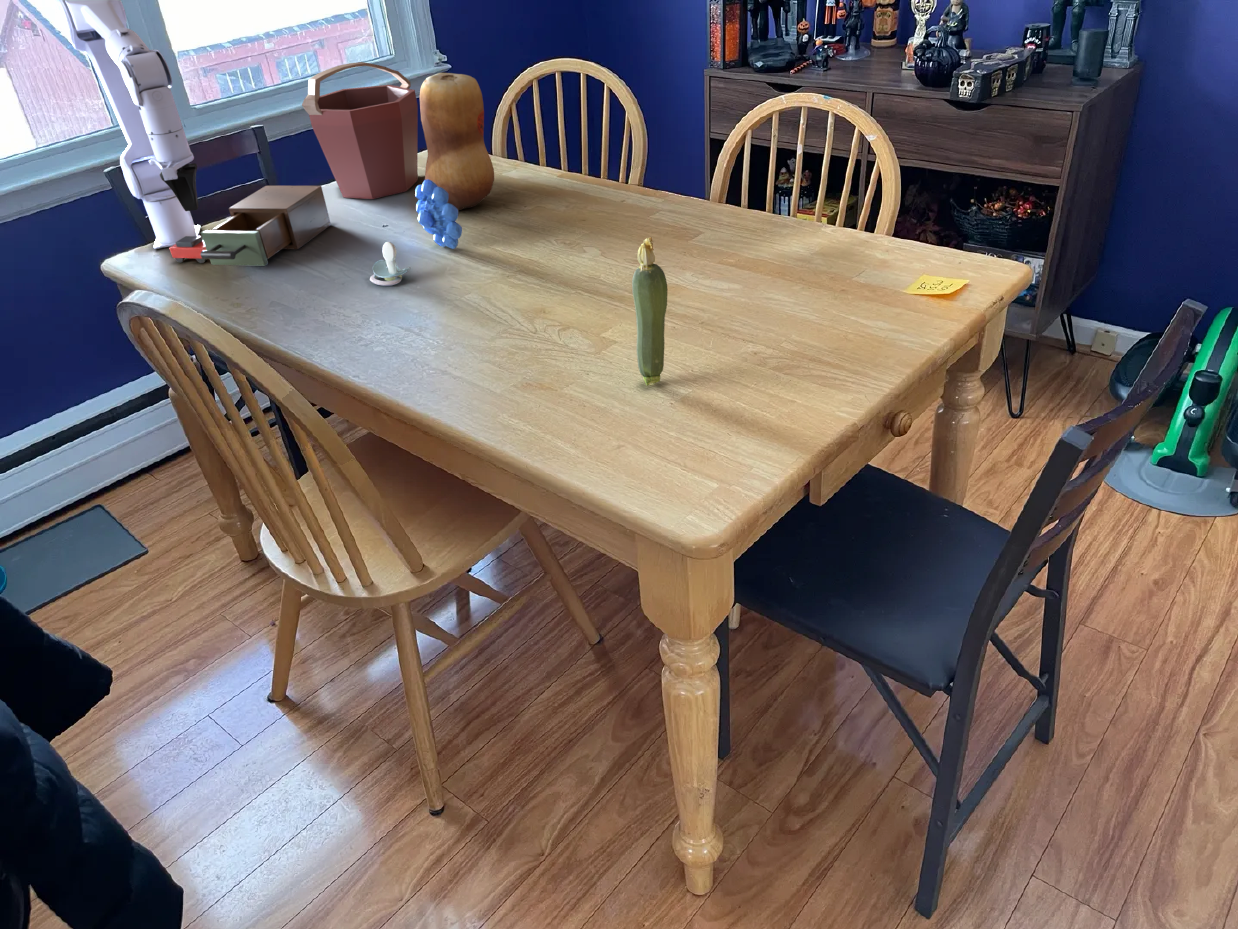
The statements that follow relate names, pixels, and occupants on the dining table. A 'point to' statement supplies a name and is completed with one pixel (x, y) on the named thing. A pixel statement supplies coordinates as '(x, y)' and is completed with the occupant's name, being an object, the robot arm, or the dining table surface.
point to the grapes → (437, 214)
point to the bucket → (367, 134)
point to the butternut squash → (456, 138)
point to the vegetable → (649, 313)
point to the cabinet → (290, 210)
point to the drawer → (246, 239)
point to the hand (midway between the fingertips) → (191, 209)
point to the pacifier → (390, 273)
